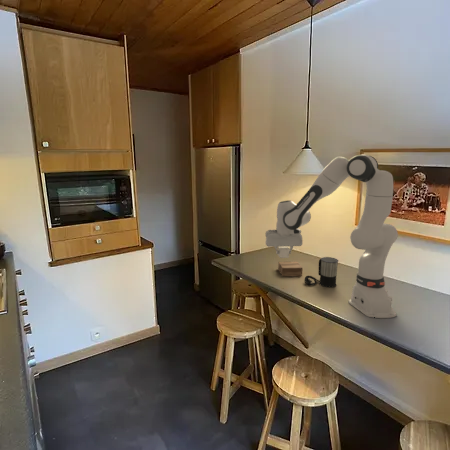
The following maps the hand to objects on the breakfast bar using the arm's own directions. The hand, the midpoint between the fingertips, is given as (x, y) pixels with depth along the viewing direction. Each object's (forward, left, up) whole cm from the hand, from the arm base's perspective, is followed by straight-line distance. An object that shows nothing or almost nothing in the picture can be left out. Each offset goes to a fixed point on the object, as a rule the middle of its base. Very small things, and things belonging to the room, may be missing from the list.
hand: (283, 253), depth 177 cm
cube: (0, 0, -2) cm, 2 cm away
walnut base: (+15, -8, -17) cm, 24 cm away
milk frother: (-4, -21, -17) cm, 27 cm away
